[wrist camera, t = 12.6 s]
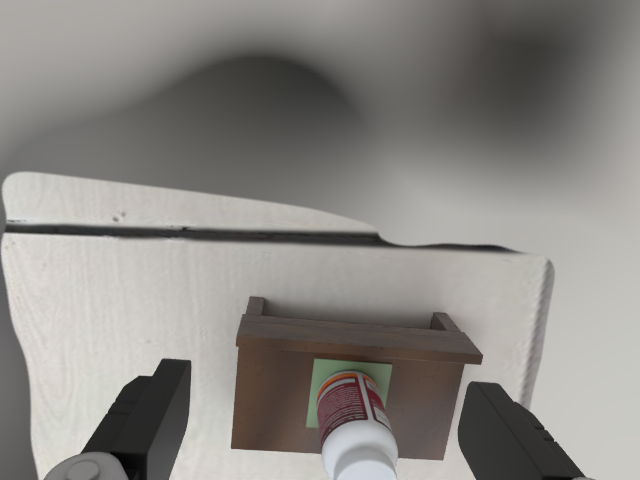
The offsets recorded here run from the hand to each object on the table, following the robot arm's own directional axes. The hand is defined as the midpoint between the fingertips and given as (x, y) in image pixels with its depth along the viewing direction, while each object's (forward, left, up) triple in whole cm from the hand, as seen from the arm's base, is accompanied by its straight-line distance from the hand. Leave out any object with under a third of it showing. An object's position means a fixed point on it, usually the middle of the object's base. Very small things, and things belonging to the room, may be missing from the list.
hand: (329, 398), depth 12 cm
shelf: (+14, -12, -32) cm, 37 cm away
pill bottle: (+14, -12, -26) cm, 32 cm away
